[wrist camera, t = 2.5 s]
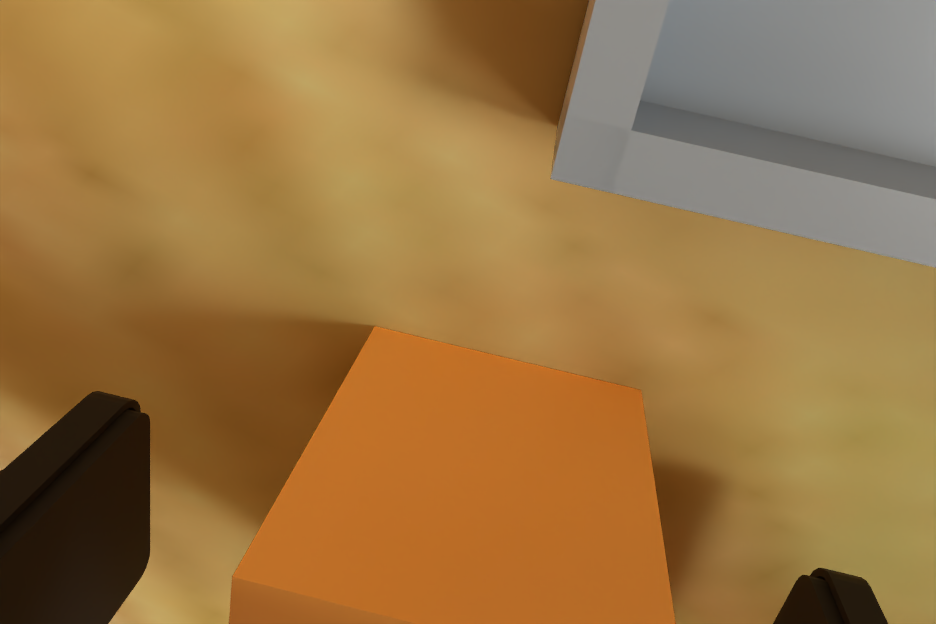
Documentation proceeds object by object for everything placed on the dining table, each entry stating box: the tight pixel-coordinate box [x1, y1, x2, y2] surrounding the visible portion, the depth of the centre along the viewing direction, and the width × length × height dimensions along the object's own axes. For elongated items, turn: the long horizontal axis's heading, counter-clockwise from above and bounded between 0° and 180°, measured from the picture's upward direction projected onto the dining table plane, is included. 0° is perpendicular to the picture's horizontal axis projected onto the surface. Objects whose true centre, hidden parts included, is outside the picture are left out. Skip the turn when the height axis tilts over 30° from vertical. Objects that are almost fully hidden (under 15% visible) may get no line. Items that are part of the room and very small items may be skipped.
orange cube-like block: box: [229, 326, 676, 624], centre depth 10 cm, size 4×5×5 cm
